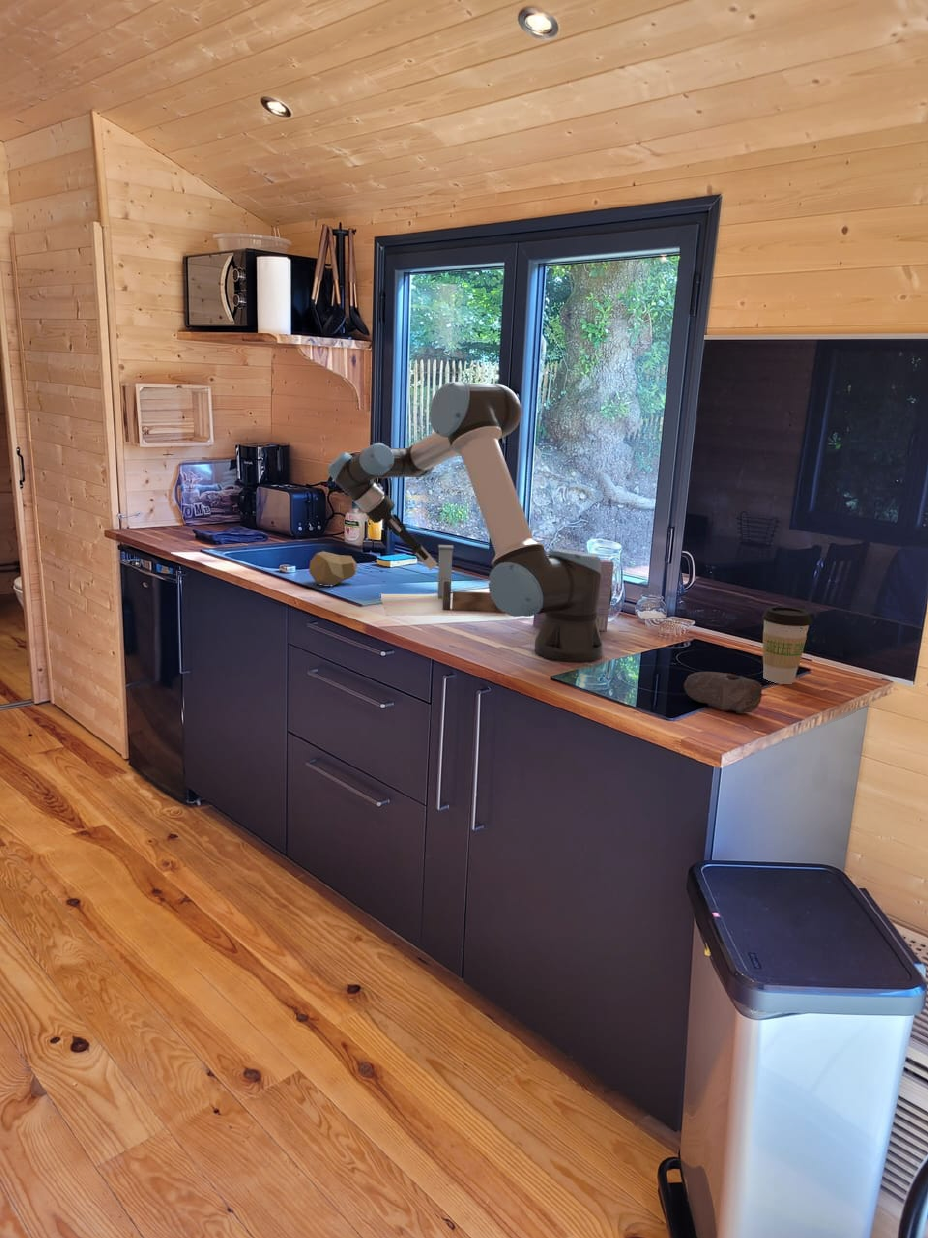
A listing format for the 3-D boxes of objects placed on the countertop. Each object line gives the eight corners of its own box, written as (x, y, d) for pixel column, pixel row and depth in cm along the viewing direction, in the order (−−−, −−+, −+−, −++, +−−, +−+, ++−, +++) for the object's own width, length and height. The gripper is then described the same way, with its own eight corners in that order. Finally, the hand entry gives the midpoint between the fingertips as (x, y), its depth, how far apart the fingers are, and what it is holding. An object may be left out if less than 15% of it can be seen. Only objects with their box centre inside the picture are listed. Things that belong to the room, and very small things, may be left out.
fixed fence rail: (442, 610, 238) (443, 580, 236) (442, 608, 241) (443, 578, 239) (507, 613, 238) (509, 583, 236) (507, 611, 241) (509, 581, 239)
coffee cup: (776, 689, 188) (786, 618, 185) (744, 675, 197) (753, 606, 193) (813, 685, 192) (823, 615, 188) (780, 671, 201) (789, 604, 197)
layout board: (518, 617, 237) (518, 615, 237) (386, 617, 231) (386, 614, 231) (499, 596, 260) (499, 594, 260) (378, 595, 254) (379, 593, 254)
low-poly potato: (304, 590, 258) (338, 575, 254) (295, 554, 261) (328, 539, 256) (334, 595, 272) (366, 581, 268) (325, 561, 274) (357, 547, 270)
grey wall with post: (453, 607, 241) (455, 555, 238) (438, 606, 241) (440, 554, 238) (450, 594, 256) (452, 545, 253) (436, 593, 256) (438, 544, 253)
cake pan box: (605, 626, 233) (611, 557, 228) (612, 631, 228) (618, 561, 224) (531, 626, 230) (536, 556, 225) (536, 631, 225) (541, 560, 221)
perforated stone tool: (676, 700, 179) (680, 666, 177) (690, 694, 182) (694, 661, 181) (748, 721, 169) (752, 685, 167) (761, 715, 173) (766, 679, 171)
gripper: (388, 497, 238) (448, 562, 245) (382, 490, 250) (439, 552, 258) (367, 516, 238) (427, 581, 246) (362, 509, 250) (420, 570, 258)
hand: (433, 566), depth 252 cm, fingers closed
